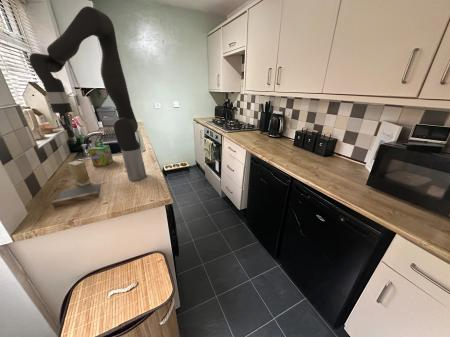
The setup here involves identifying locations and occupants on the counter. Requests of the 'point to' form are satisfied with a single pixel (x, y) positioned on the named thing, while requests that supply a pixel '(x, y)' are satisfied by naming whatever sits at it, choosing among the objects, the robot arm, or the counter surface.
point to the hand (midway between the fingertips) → (72, 137)
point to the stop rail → (74, 199)
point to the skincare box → (79, 173)
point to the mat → (79, 191)
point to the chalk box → (100, 154)
